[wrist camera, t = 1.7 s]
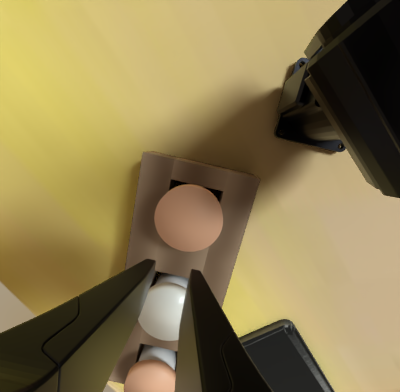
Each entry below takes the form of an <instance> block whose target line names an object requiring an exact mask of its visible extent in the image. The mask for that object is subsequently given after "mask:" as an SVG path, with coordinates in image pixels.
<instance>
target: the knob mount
mask: <svg viewBox="0 0 400 392" xmlns="http://www.w3.org/2000/svg"><path fill="white" fill-rule="evenodd" d="M175 180H177V181H181V182H185V183H190V184H194V185H199V186H203V187H207V188H211V189H216V190H220V193H219V197H218V201H219V203H220V206H221V209H222V214H223V227H222V230H221V233H220V235H219V237H218V238H217V239H216V240H215V242H214V243H212V244H211V245H210V246H208V247H207V248H205V249H203V250H200V251H195V252H185V251H180V250H177V249H175V248H173V247H171V246H169V245H168V244H167V243H165V242H164V241H163V239H162V238H161V237H160V235H159V234H158V232H157V230H156V226H155V221H154V215H155V210H156V207H157V204H158V203H159V201H160V200H161V198H162V197H163V196H164V195H165V194H166V193H167V192H168V191H170V190H171V189H173V188H174V185H175ZM259 182H260V179H259V178H258V177H256V176H254V175H253V174H248V173H244V172H240V171H235V170H231V169H227V168H222V167H218V166H214V165H209V164H205V163H201V162H196V161H192V160H188V159H183V158H179V157H175V156H170V155H166V154H162V153H157V152H153V151H151V152H143V153H142V160H141V166H140V173H139V180H138V186H137V193H136V200H135V206H134V213H133V219H132V226H131V233H130V239H129V246H128V253H127V259H126V266H125V270H126V269H128V268H130V267H132V266H134V265H136V264H138V263H139V262H141V261H143V260H145V259H152V260H155V261H156V266H155V271H154V276H153V280H152V283H151V286H150V287H152V286H154V285H155V282H156V277H157V272H158V271H159V272H163V273H168V274H172V275H176V276H181V277H185V278H189V276H190V272H191V269H196V270H200V271H201V272H202V274H203V276H204V278H205V279H206V281H207V283H208V285H209V287H210V288H211V290H212V292H213V294H214V296H215V297H216V299H217V301H218V303H219V305H220V306H221V308H222V305H223V302H224V298H225V295H226V292H227V288H228V285H229V282H230V279H231V275H232V272H233V269H234V265H235V262H236V259H237V255H238V252H239V249H240V245H241V242H242V239H243V235H244V232H245V229H246V225H247V222H248V219H249V216H250V212H251V209H252V206H253V202H254V199H255V196H256V192H257V189H258V186H259ZM143 344H146V345H151V346H155V347H160V348H164V349H168V350H173V351H178V340H174V341H165V340H160V339H157V338H155V337H153V336H151V335H149V334H148V333H147V332H146V331H145V330H144V329H143V328H142V327H141V325H140V323H139V321H137V323H136V325H135V327H134V329H133V331H132V333H131V335H130V337H129V339H128V341H127V343H126V345H125V347H124V349H123V351H122V353H121V355H120V357H119V359H118V361H117V363H116V365H115V367H114V370H113V372H112V374H111V376H110V378H109V381H113V382H118V383H122V384H125V381H126V378H127V375H128V372H129V370H130V368H131V367H132V366H133V365H134V364H135V363H137V362H138V361H139V358H140V355H141V352H142V350H143ZM176 364H177V358H176ZM176 364H175V370H174V371H175V372H176Z"/></svg>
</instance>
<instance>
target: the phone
mask: <svg viewBox="0 0 400 392" xmlns="http://www.w3.org/2000/svg"><path fill="white" fill-rule="evenodd" d="M239 340H240V342H241V343H242V345H243V347H244V349H245V350H246V352H247V354H248V355H249V357H250V358H251V360H252V361H253V363H254V364H255V366H256V367H257V369H258V370H259V372H260V373H261V375H262V376H263V378H264V379H265V381H266V382H267V384H268V385H269V386H270V388H271V389H272V391H273V392H335V391H334V390H333V388H332V386H331V385H330V383H329V381H328V380H327V378H326V377H325V375H324V373H323V372H322V370H321V368H320V367H319V365H318V363H317V362H316V360H315V358H314V357H313V355H312V353H311V352H310V350H309V349H308V347H307V345H306V344H305V342H304V340H303V339H302V337H301V335H300V334H299V332H298V330H297V329H296V327H295V326H294V324H293V323H292V322H291V321H290V320H287V319H282V320H279V321H277V322H274V323H272V324H270V325H267V326H265V327H263V328H260V329H258V330H256V331H254V332H251V333H249V334H247V335H244V336H242V337H240V338H239Z"/></svg>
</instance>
